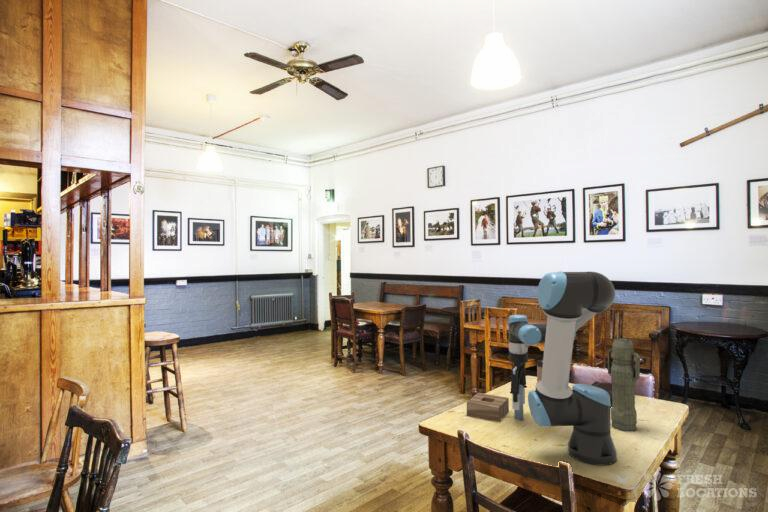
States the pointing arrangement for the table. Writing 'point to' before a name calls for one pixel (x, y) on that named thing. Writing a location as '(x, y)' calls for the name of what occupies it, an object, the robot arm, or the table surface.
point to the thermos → (623, 383)
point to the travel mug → (539, 369)
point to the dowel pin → (519, 413)
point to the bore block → (488, 407)
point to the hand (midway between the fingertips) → (518, 406)
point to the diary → (604, 388)
